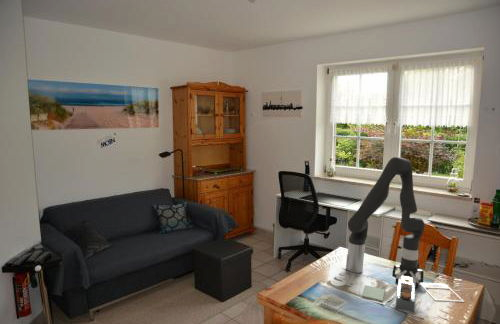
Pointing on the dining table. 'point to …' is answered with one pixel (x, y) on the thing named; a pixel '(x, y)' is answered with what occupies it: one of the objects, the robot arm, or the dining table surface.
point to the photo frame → (439, 286)
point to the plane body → (405, 298)
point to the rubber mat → (373, 293)
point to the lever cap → (406, 283)
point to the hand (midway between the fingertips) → (406, 286)
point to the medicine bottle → (416, 275)
